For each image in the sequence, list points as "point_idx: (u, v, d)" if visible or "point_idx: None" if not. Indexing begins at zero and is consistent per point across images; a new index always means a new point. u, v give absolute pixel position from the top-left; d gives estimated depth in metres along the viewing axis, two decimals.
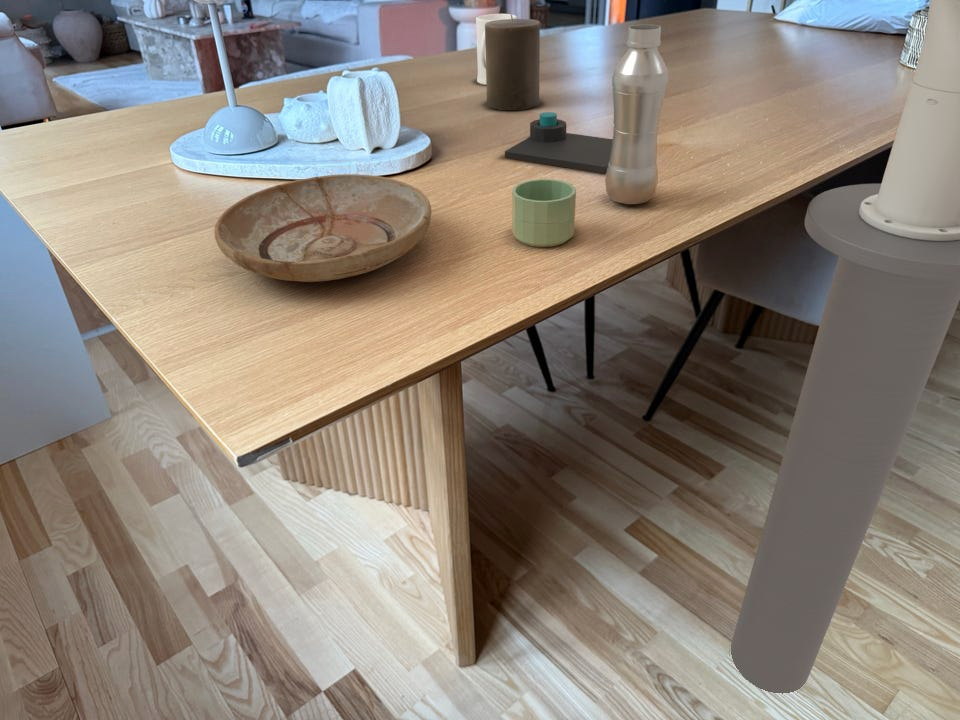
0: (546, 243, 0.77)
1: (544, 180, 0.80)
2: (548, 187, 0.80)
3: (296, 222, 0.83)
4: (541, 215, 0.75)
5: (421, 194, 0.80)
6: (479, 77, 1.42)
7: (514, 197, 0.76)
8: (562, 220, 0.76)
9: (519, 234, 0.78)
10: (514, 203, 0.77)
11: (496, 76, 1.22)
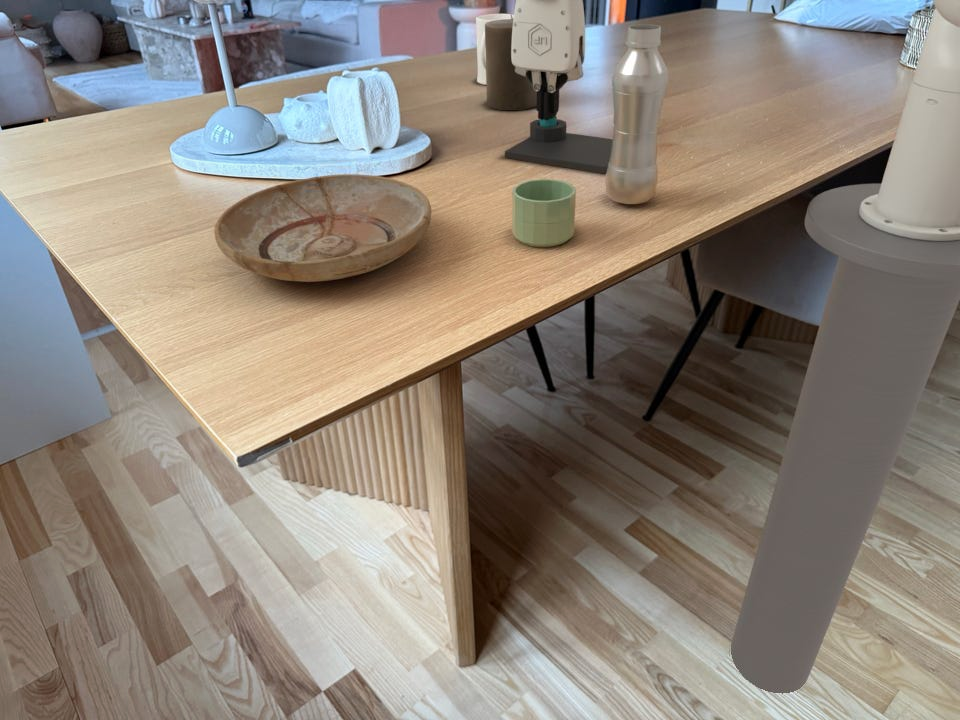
0: (546, 243, 0.77)
1: (544, 180, 0.80)
2: (548, 187, 0.80)
3: (296, 222, 0.83)
4: (541, 215, 0.75)
5: (421, 194, 0.80)
6: (479, 77, 1.42)
7: (514, 197, 0.76)
8: (562, 220, 0.76)
9: (519, 234, 0.78)
10: (514, 203, 0.77)
11: (496, 76, 1.22)
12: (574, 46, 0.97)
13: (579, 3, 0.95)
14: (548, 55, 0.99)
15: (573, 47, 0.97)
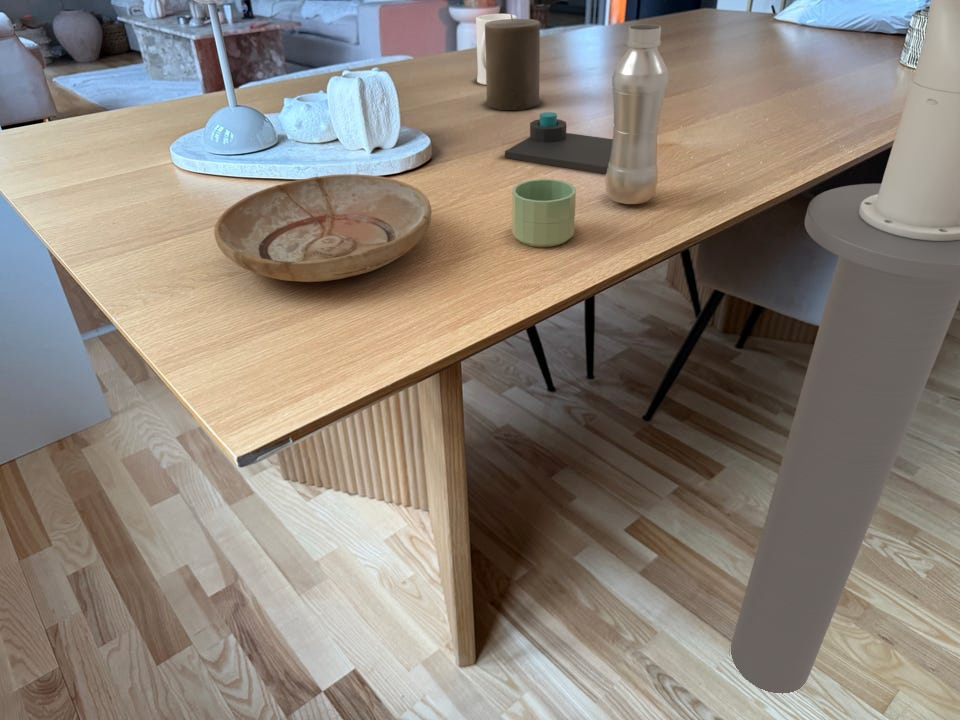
0: (546, 243, 0.77)
1: (544, 180, 0.80)
2: (548, 187, 0.80)
3: (296, 222, 0.83)
4: (541, 215, 0.75)
5: (421, 194, 0.80)
6: (479, 77, 1.42)
7: (514, 197, 0.76)
8: (562, 220, 0.76)
9: (519, 234, 0.78)
10: (514, 203, 0.77)
11: (496, 76, 1.22)
12: None
13: None
14: None
15: None
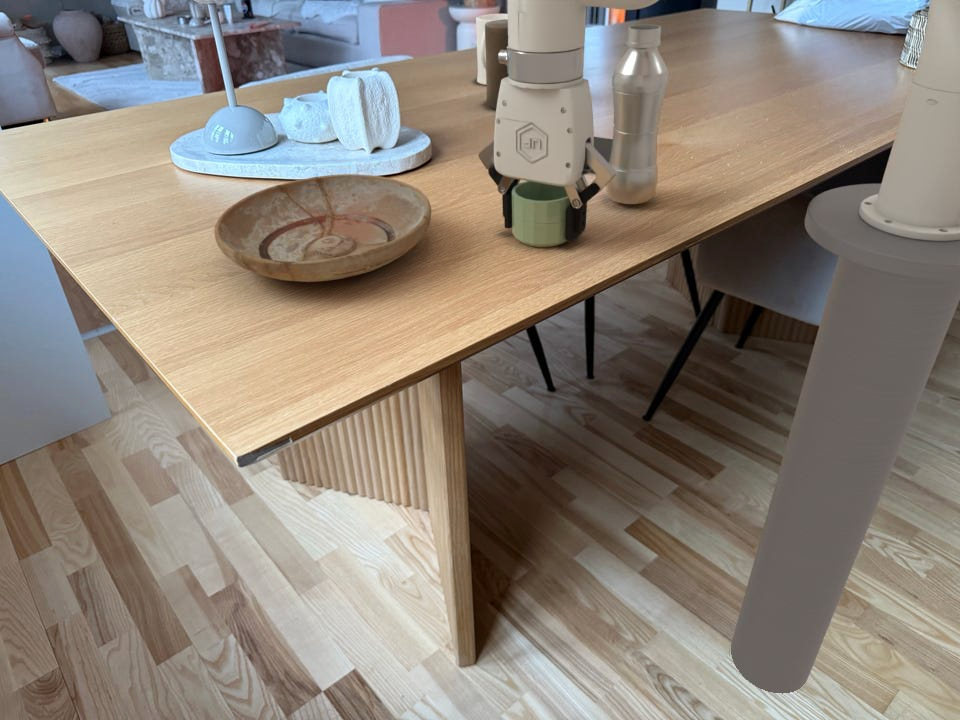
0: (546, 243, 0.77)
1: None
2: (547, 187, 0.80)
3: (296, 222, 0.83)
4: (541, 215, 0.75)
5: (421, 194, 0.80)
6: (479, 77, 1.42)
7: (514, 197, 0.76)
8: (562, 220, 0.76)
9: (519, 234, 0.78)
10: (514, 203, 0.77)
11: (496, 76, 1.22)
12: (578, 153, 0.70)
13: (586, 96, 0.69)
14: (543, 163, 0.72)
15: (577, 155, 0.71)
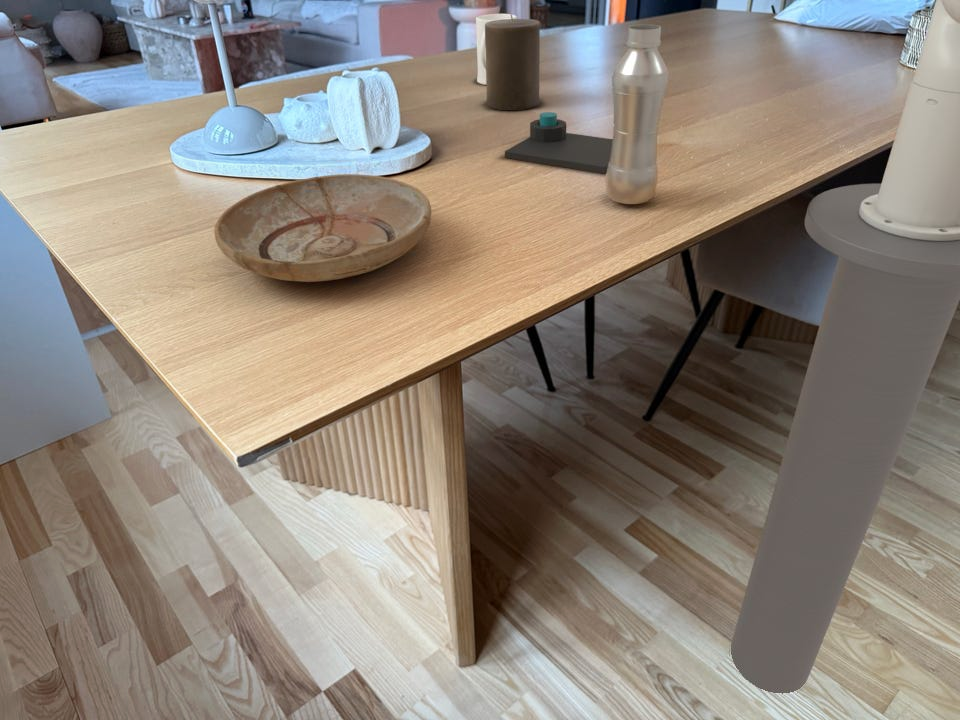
0: None
1: None
2: None
3: (296, 222, 0.83)
4: None
5: (421, 194, 0.79)
6: (479, 77, 1.42)
7: None
8: None
9: None
10: None
11: (496, 76, 1.22)
12: None
13: None
14: None
15: None
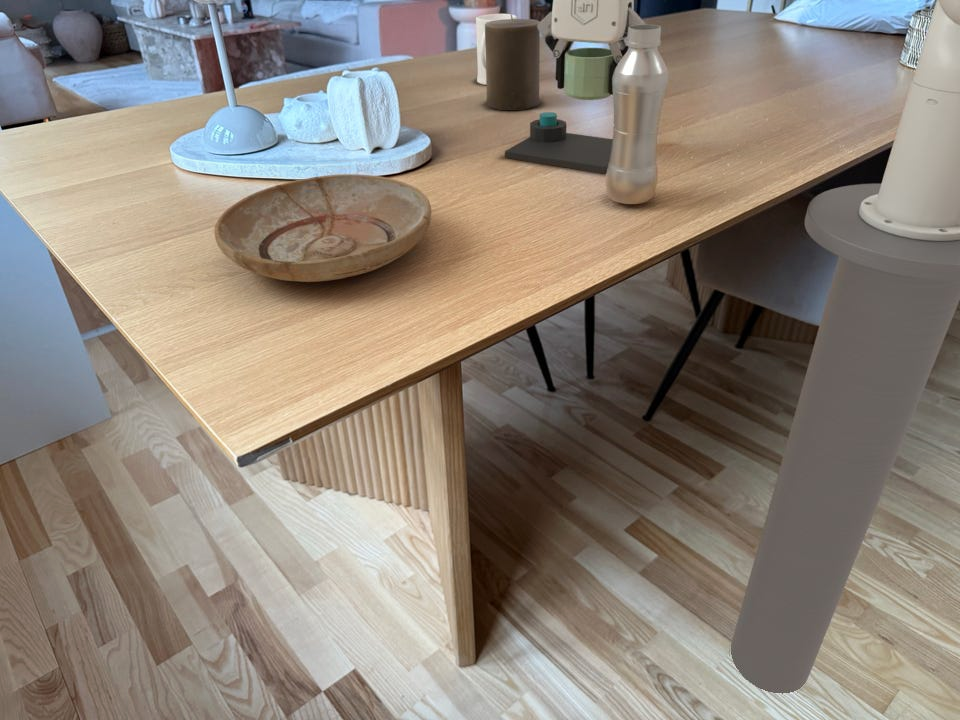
0: (593, 95, 0.95)
1: (590, 48, 0.98)
2: (593, 54, 0.98)
3: (296, 222, 0.83)
4: (590, 70, 0.93)
5: (421, 194, 0.80)
6: (479, 77, 1.42)
7: (567, 57, 0.94)
8: (606, 75, 0.94)
9: (570, 89, 0.96)
10: (567, 63, 0.95)
11: (496, 76, 1.22)
12: (622, 13, 0.88)
13: None
14: (593, 24, 0.90)
15: (622, 14, 0.88)
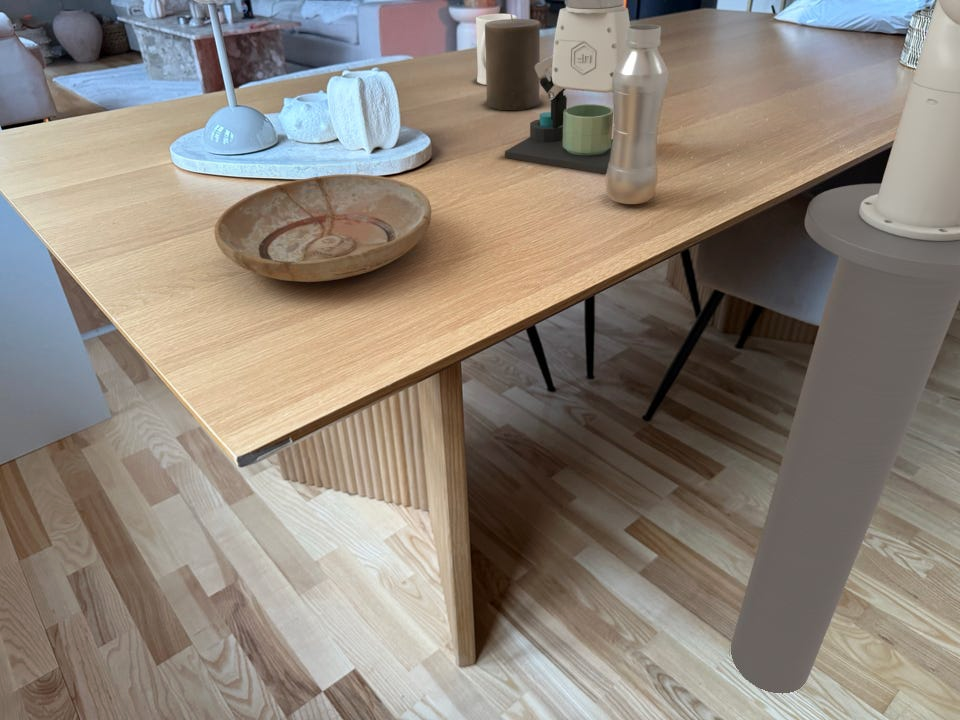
0: (590, 152, 0.99)
1: (587, 105, 1.02)
2: (590, 110, 1.02)
3: (296, 222, 0.83)
4: (587, 129, 0.97)
5: (421, 194, 0.79)
6: (479, 77, 1.42)
7: (566, 115, 0.99)
8: (603, 133, 0.98)
9: (569, 145, 1.00)
10: (565, 120, 0.99)
11: (496, 76, 1.22)
12: None
13: (626, 19, 0.90)
14: (592, 74, 0.94)
15: None
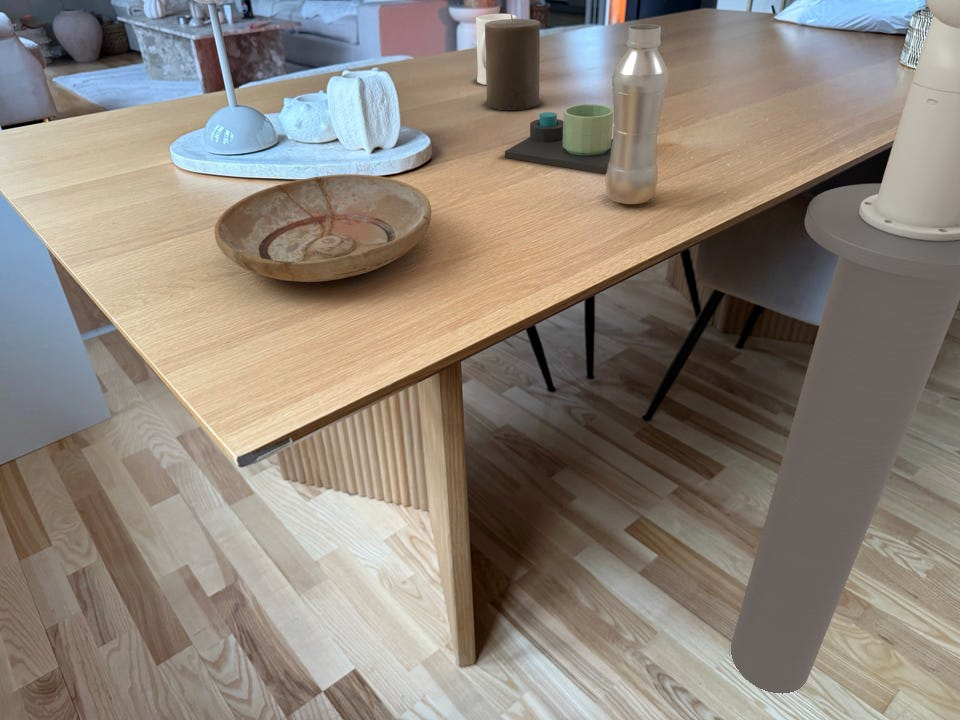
0: (590, 152, 0.99)
1: (587, 105, 1.02)
2: (590, 110, 1.02)
3: (296, 222, 0.83)
4: (587, 129, 0.97)
5: (421, 194, 0.80)
6: (479, 77, 1.42)
7: (566, 115, 0.99)
8: (603, 133, 0.98)
9: (569, 145, 1.00)
10: (565, 120, 0.99)
11: (496, 76, 1.22)
12: None
13: None
14: None
15: None
